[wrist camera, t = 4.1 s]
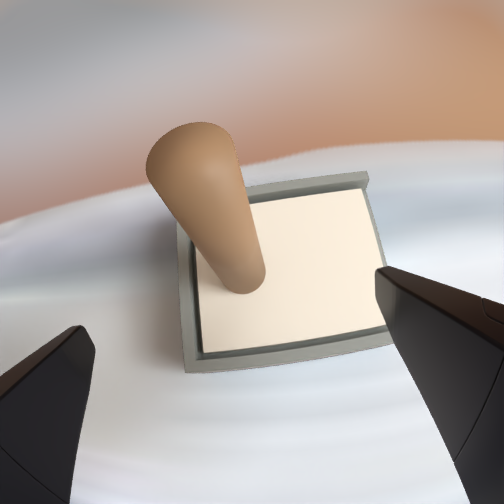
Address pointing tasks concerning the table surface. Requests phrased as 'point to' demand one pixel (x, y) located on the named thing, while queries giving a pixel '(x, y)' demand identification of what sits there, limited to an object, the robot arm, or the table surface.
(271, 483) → the table surface
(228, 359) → the box
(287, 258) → the cover plate
